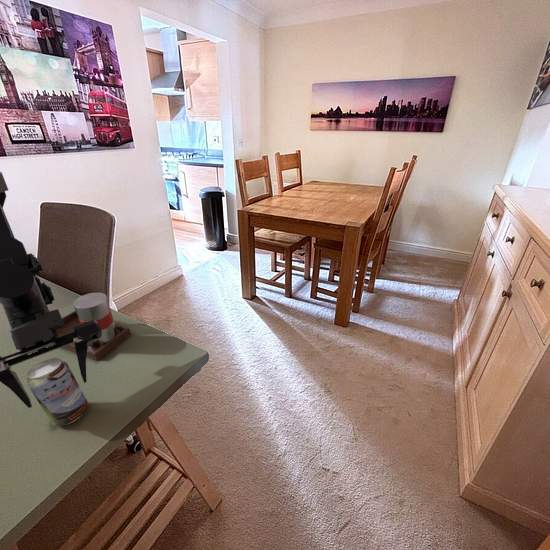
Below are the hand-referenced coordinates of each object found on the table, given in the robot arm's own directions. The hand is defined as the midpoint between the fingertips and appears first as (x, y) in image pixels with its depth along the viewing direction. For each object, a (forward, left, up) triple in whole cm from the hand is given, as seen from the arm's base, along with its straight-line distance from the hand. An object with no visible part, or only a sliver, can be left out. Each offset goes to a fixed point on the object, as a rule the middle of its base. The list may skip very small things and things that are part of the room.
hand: (59, 394), depth 53 cm
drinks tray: (-18, +18, -7) cm, 26 cm away
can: (-12, +18, -7) cm, 22 cm away
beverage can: (-1, +1, -7) cm, 7 cm away
